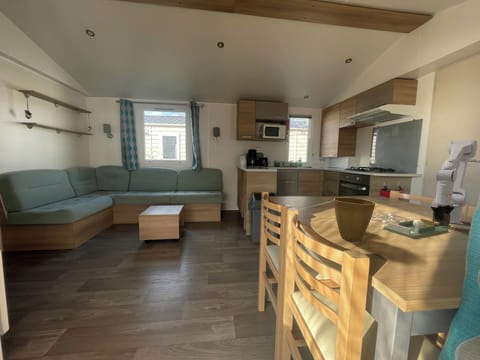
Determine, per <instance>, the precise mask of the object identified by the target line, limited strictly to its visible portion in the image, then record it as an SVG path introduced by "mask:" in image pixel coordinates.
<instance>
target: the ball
mask: <svg viewBox="0 0 480 360" xmlns="http://www.w3.org/2000/svg"><path fill="white" fill-rule="evenodd" d="M412 221H413V220H412ZM416 224H420V227H423V226H424V222H423V221H421V220H420V219H414V221H413V225H414V227H415V226H416ZM420 227H419V228H420Z"/></svg>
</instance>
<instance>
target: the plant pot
mask: <svg viewBox="0 0 480 360" xmlns="http://www.w3.org/2000/svg"><path fill="white" fill-rule="evenodd" d="M333 205H334V214H335V219H336V225H337V229H338V232H339V234H340V237H341V238H342V239H343V240H346V241H349V242H350V241H351V242H360V241H362V239H363V238H364V236H365V234H366V232H367V229H368V227H369V224H370V222H371V220H372V217H373V213H374V212H375V211H374V209H375V206H376V201H375V202H374V201H372V200H368V199H364V198H363V199H362V198H357V197H343V196H342V197H334V198H333Z"/></svg>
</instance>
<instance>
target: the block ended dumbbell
mask: <svg viewBox="0 0 480 360" xmlns="http://www.w3.org/2000/svg"><path fill="white" fill-rule="evenodd" d="M450 216H451V215H449V214H444V215H443V218H442V221H436V220H435V216H434V212H433V213H432V220H431V219H425V218H420V219H419V220H421V221H423V222H424V226H432V225H440V224H441V225H451V223H450Z"/></svg>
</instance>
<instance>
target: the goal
mask: <svg viewBox="0 0 480 360" xmlns="http://www.w3.org/2000/svg"><path fill="white" fill-rule="evenodd" d="M400 222H401V218H396V219H395V223H393V222H388V224H387V227H388V228H389V229H392V230H395V231H399V232H402V233H405V234H408V235H411V233H419V227H420V224H416V226H415V232H412V231H411V228H407V227H404V226H400V225H399V223H400Z"/></svg>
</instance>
